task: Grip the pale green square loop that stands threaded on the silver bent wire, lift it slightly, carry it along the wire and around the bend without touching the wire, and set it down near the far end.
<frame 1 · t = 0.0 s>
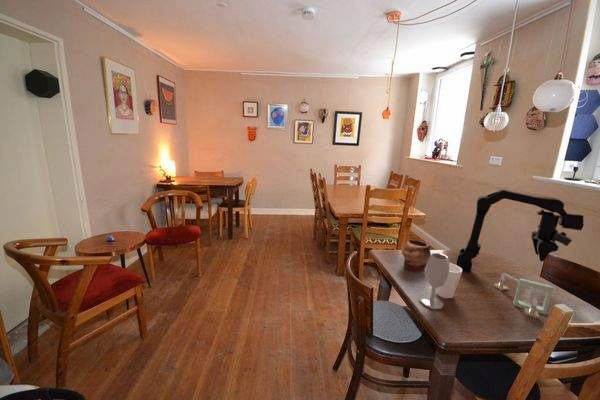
hand: (539, 257, 122), 15 cm above the table, tool pointing down, fingers open, 9 cm apart
mint green frame: (528, 308, 108), on the table
wineglass: (431, 303, 108), on the table
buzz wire: (527, 303, 111), on the table
foam cup: (444, 294, 115), on the table
decorative planter: (415, 267, 139), on the table
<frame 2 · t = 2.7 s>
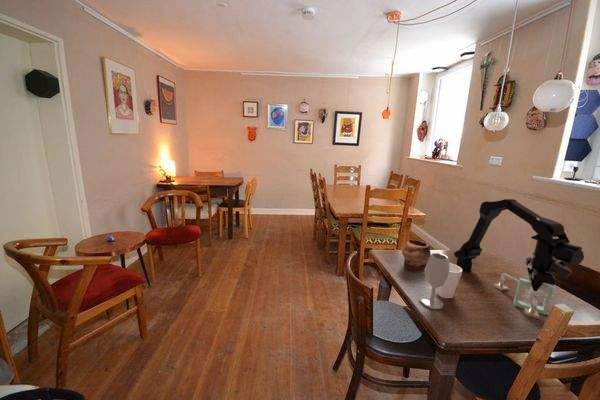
hand: (534, 289, 106), 9 cm above the table, tool pointing down, fingers closed on mint green frame, 2 cm apart
mint green frame: (529, 308, 107), on the table, touching gripper
everything else where it was.
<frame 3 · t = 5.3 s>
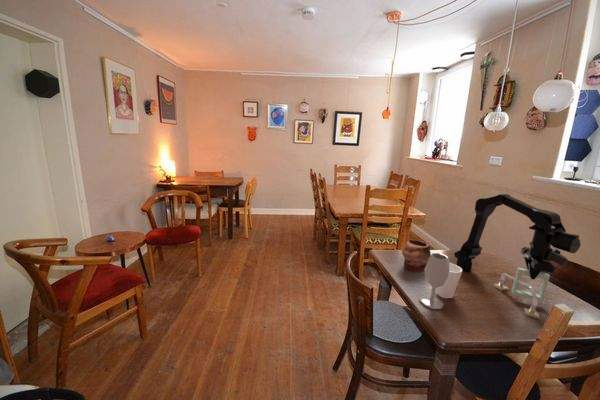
hand: (531, 277, 109), 11 cm above the table, tool pointing down, fingers closed on mint green frame
mint green frame: (526, 296, 111), point 3 cm above the table, touching gripper
everything else where it was.
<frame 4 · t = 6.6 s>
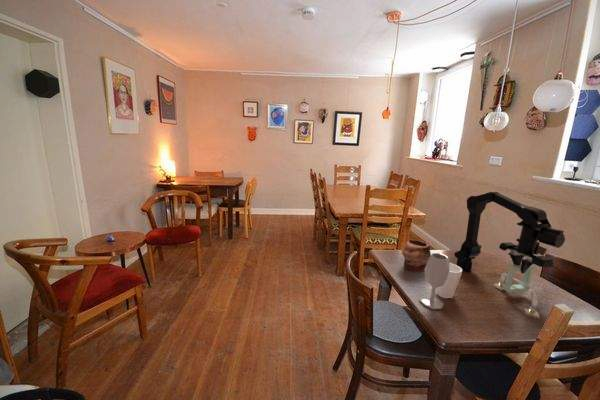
hand: (519, 272, 114), 11 cm above the table, tool pointing down, fingers closed on mint green frame
mint green frame: (515, 289, 116), point 3 cm above the table, touching gripper
everything else where it was.
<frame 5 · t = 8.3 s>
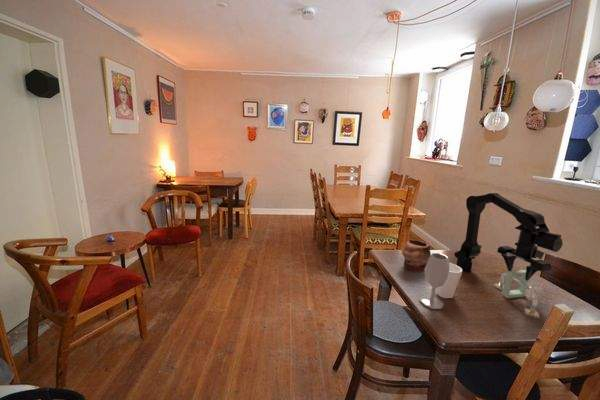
hand: (518, 275, 114), 9 cm above the table, tool pointing down, fingers open, 7 cm apart
mint green frame: (513, 295, 117), on the table
everything else where it was.
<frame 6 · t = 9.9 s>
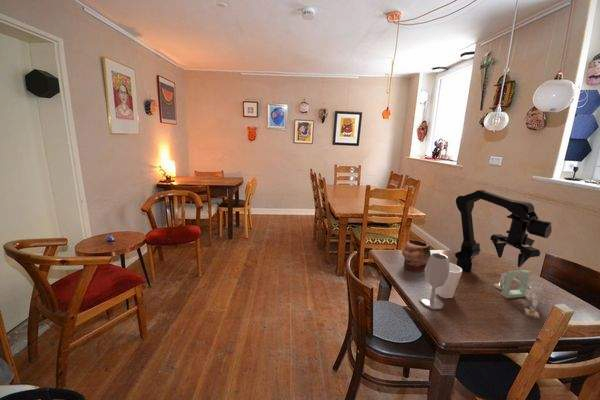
hand: (509, 262, 120), 13 cm above the table, tool pointing down, fingers open, 9 cm apart
nothing on the table moved.
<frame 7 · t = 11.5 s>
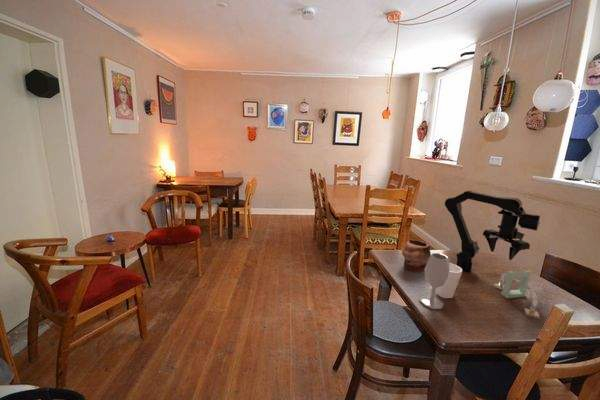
hand: (501, 255, 126), 13 cm above the table, tool pointing down, fingers open, 9 cm apart
nothing on the table moved.
at the end: mint green frame 0.1 cm from the target spot, on the table; mint green frame tilted 0°; mint green frame touching table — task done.
